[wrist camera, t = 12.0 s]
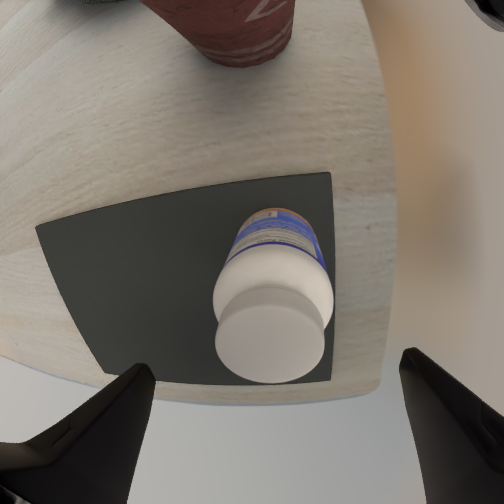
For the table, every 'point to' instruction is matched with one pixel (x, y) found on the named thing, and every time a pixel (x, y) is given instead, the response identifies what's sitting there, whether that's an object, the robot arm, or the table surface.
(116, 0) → the pot
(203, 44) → the can
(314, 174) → the mat
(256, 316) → the pill bottle
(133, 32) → the table surface
